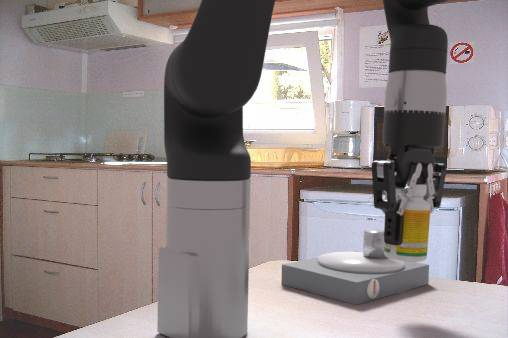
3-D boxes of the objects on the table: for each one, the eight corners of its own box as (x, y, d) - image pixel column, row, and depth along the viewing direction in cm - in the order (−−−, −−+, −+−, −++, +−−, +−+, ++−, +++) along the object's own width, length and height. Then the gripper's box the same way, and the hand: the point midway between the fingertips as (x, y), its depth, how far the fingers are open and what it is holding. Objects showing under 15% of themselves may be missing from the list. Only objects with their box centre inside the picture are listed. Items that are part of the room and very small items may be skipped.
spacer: (379, 260, 88) (379, 234, 88) (357, 256, 91) (358, 231, 91) (394, 257, 91) (394, 232, 90) (373, 253, 94) (373, 228, 93)
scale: (358, 305, 76) (359, 278, 76) (281, 284, 87) (282, 260, 86) (430, 284, 88) (431, 261, 88) (355, 268, 99) (355, 247, 99)
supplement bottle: (375, 256, 74) (379, 181, 74) (400, 252, 77) (404, 181, 77) (410, 264, 70) (415, 185, 69) (435, 260, 73) (440, 185, 73)
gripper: (409, 104, 65) (400, 252, 66) (469, 114, 75) (461, 243, 76) (355, 105, 71) (348, 242, 71) (418, 114, 80) (411, 234, 81)
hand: (406, 242), depth 73 cm, fingers closed on supplement bottle, 5 cm apart
